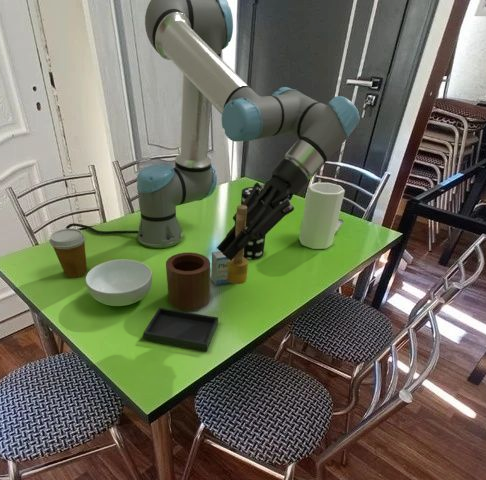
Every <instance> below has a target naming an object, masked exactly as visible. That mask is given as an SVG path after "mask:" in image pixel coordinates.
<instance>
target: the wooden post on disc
mask: <svg viewBox="0 0 486 480" xmlns="http://www.w3.org/2000/svg"><path fill="white" fill-rule="evenodd" d="M236 212H237V214H236V213H235V214H236V230H235V238H236V237H237V236H238V234H239V233H240V232H241V231H243V229H246V217H247V206H245V205H241V204H239V205H237V206H236ZM243 232H244V231H243ZM244 233H245V232H244ZM243 255H244V248H243V249H242V250H240V251H239V252H238V253H237V255H236V256H235V257H234V258H233V259H232V260H229V261H228V281H229V282H231V283H230V284H232V285H233V284H234V285H243V284H244V283H246V282H247V278H248V268H249V259H246V258H244V257H243Z"/></svg>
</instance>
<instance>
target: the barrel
mask: <svg viewBox="0 0 486 480" xmlns="http://www.w3.org/2000/svg"><path fill="white" fill-rule="evenodd" d="M165 271H166V272H165V273H166V286H167V300H168V303H169V304H170V306H171V307H172V308H174V309H175V310H177V311H183V312H195V311H198V310H201V309H203V308H205V307H206V306H207V305H208V304H209V303H210V297H211V260H210V259H209V258H208V257H207V256H205V255H204V254H200V253H199V252H191V251H190V252H179V253H176V254H173V255H171V256H170V257H168V258H167V260H166V261H165Z"/></svg>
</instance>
